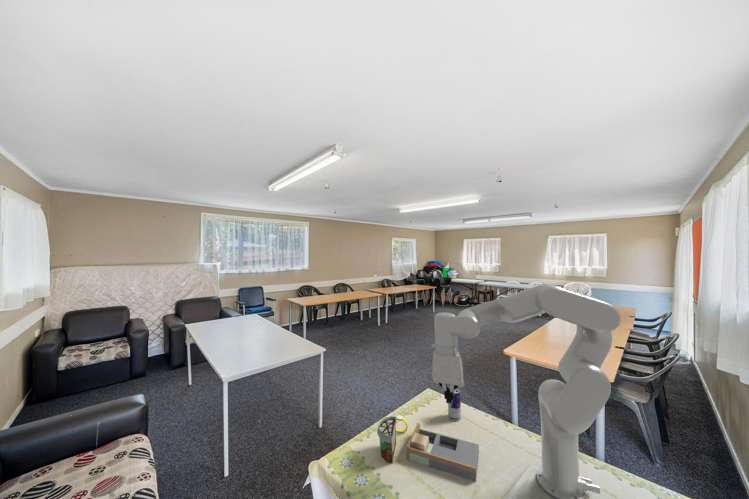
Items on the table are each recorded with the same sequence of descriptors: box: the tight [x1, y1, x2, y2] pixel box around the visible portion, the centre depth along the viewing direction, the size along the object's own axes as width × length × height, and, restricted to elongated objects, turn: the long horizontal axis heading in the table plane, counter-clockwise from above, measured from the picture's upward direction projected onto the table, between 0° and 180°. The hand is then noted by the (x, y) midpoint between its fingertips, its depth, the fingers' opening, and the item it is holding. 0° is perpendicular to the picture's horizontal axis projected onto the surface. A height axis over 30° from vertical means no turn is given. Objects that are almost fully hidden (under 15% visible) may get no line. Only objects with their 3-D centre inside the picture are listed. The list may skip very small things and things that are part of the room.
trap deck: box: [406, 422, 480, 482], centre depth 95 cm, size 23×14×4 cm, turn 65°
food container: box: [376, 416, 397, 464], centre depth 97 cm, size 12×6×10 cm, turn 168°
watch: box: [395, 414, 409, 434], centre depth 109 cm, size 6×3×6 cm, turn 75°
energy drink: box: [447, 387, 462, 422], centre depth 117 cm, size 5×5×12 cm
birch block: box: [411, 433, 429, 452], centre depth 96 cm, size 5×5×3 cm
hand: (449, 401), depth 93 cm, fingers closed
